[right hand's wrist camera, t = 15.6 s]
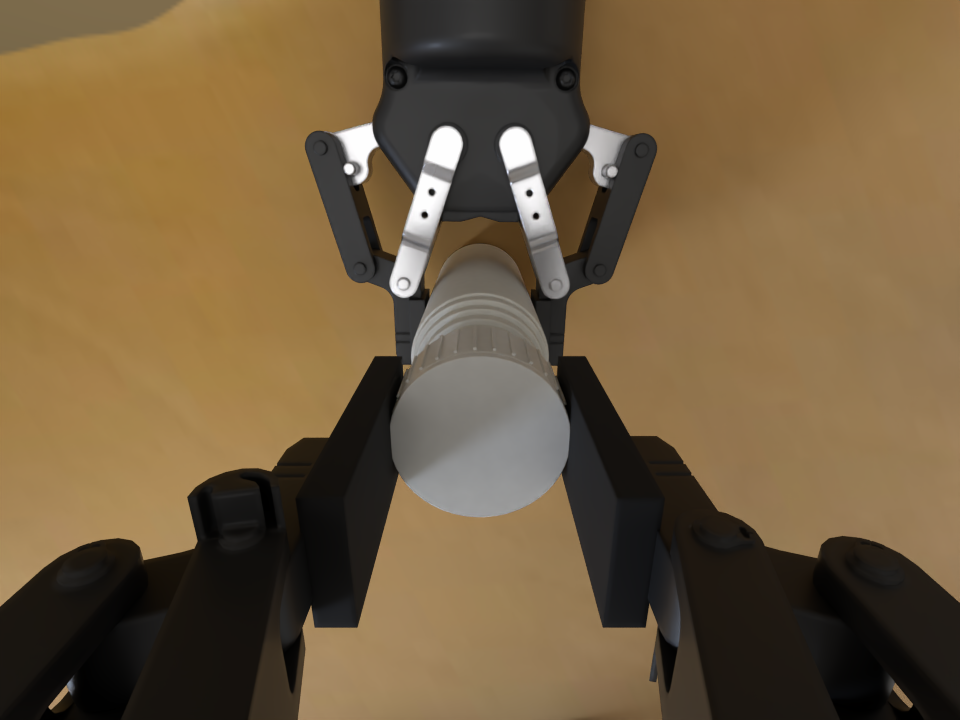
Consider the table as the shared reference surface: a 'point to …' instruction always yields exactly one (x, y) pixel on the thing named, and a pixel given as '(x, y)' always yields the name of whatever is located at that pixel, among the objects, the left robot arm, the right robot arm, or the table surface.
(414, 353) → the bottle
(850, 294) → the table surface
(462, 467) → the cap
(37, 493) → the table surface
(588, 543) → the right robot arm
